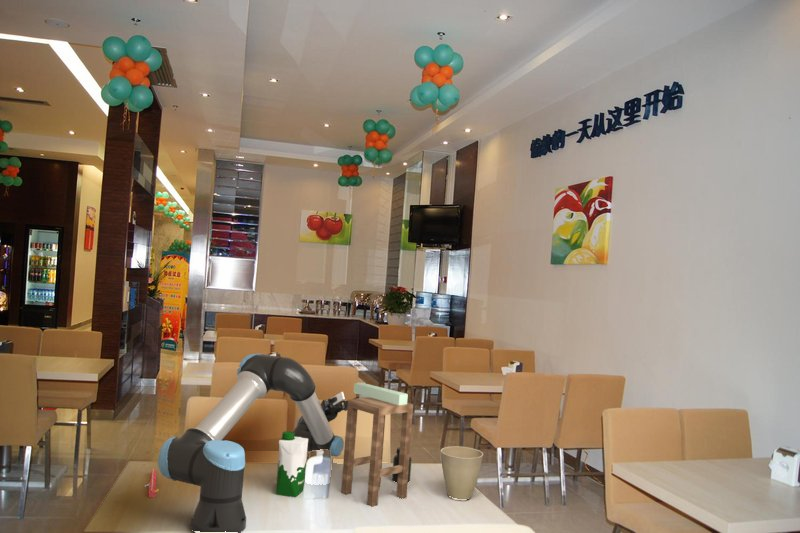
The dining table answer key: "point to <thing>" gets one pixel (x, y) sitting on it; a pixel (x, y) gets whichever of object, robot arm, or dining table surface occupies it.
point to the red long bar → (152, 484)
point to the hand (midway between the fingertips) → (357, 394)
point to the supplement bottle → (396, 462)
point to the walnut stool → (377, 446)
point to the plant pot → (460, 470)
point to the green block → (381, 393)
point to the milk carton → (291, 464)
